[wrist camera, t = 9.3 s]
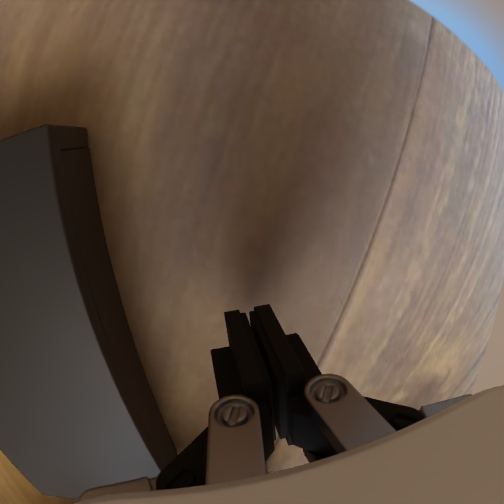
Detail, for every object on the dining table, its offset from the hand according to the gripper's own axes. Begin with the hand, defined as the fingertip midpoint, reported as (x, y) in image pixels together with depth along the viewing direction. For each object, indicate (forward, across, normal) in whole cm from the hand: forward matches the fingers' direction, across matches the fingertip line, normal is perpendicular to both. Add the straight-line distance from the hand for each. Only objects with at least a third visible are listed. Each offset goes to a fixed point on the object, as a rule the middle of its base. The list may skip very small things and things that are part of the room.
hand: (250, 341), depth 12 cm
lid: (+3, +10, 0) cm, 10 cm away
